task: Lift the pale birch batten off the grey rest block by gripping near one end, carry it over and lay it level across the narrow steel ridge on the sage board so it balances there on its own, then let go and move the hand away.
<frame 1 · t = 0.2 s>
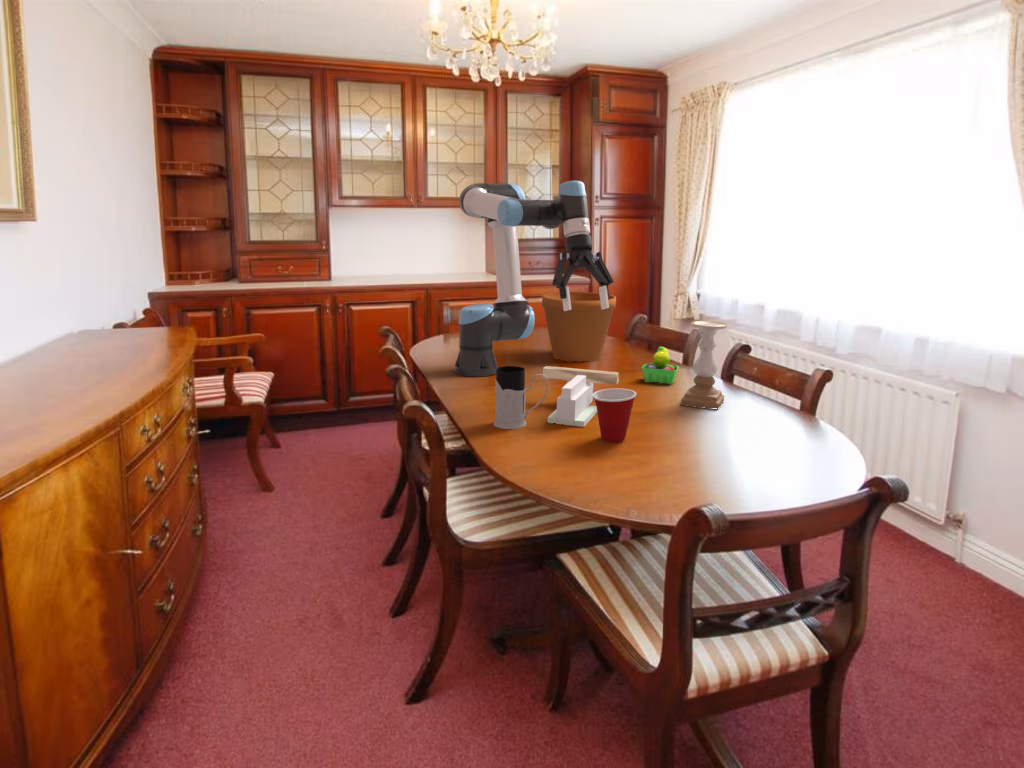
hand: (586, 309, 198), 28 cm above the table, tool tilted 15°, fingers open, 13 cm apart
ridge stand: (573, 416, 191), on the table
plastic cup: (611, 439, 172), on the table
birch batten: (580, 380, 202), point 7 cm above the table, touching rest block
fruit basket: (659, 381, 232), on the table
rest block: (579, 403, 204), on the table
candle holder: (702, 403, 206), on the table
flowerpot: (576, 357, 269), on the table
glass holder: (520, 425, 184), on the table
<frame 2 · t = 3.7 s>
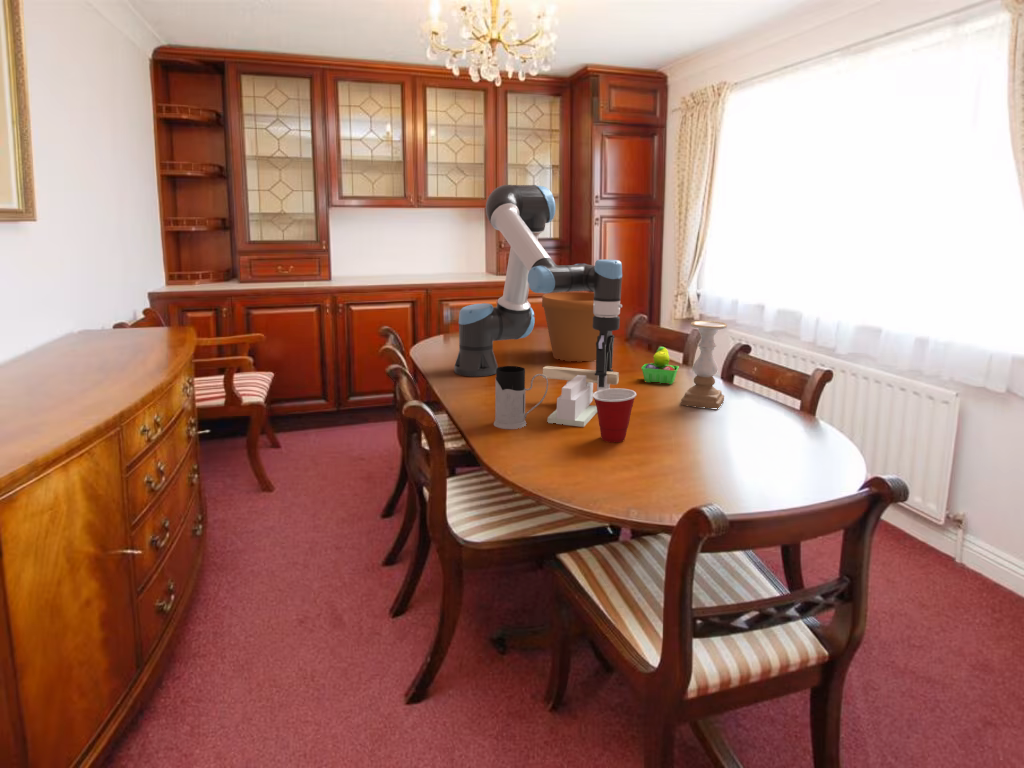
hand: (603, 395, 201), 3 cm above the table, tool pointing down, fingers closed on birch batten, 3 cm apart
birch batten: (580, 380, 202), point 7 cm above the table, touching gripper
everything else where it was.
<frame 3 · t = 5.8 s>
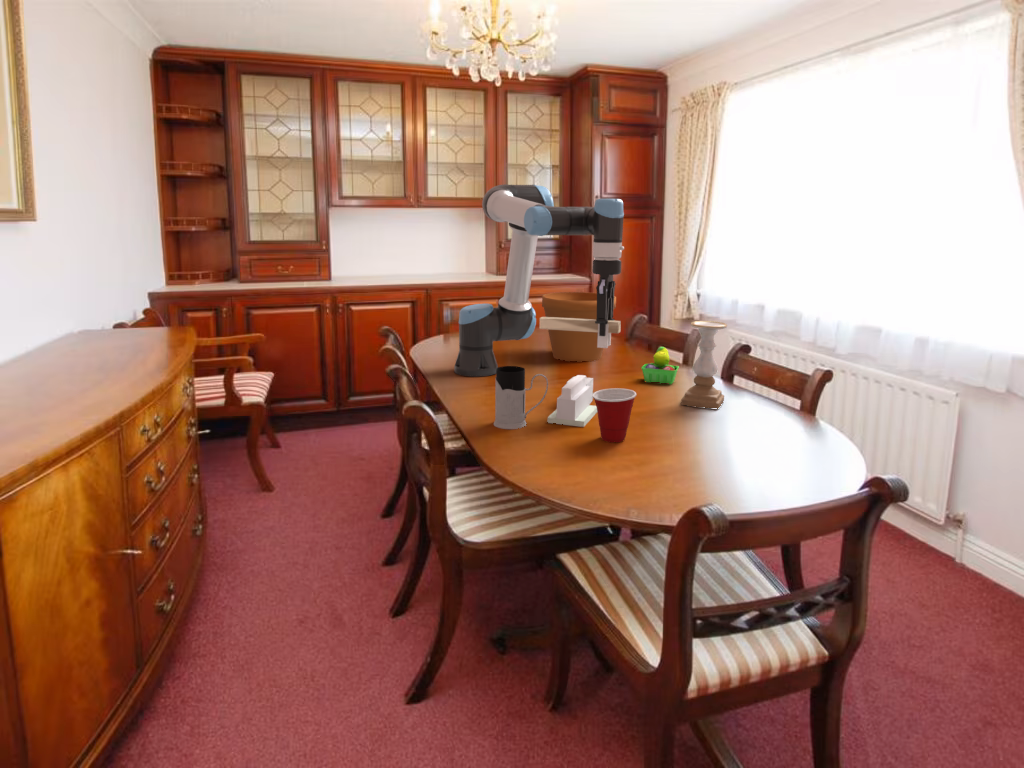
hand: (603, 346, 189), 19 cm above the table, tool pointing down, fingers closed on birch batten, 3 cm apart
birch batten: (579, 330, 190), point 23 cm above the table, touching gripper
everything else where it was.
when the fingers open (7 cm above the table, at t = 8.2 s): birch batten drops 1 cm, resting on ridge stand.
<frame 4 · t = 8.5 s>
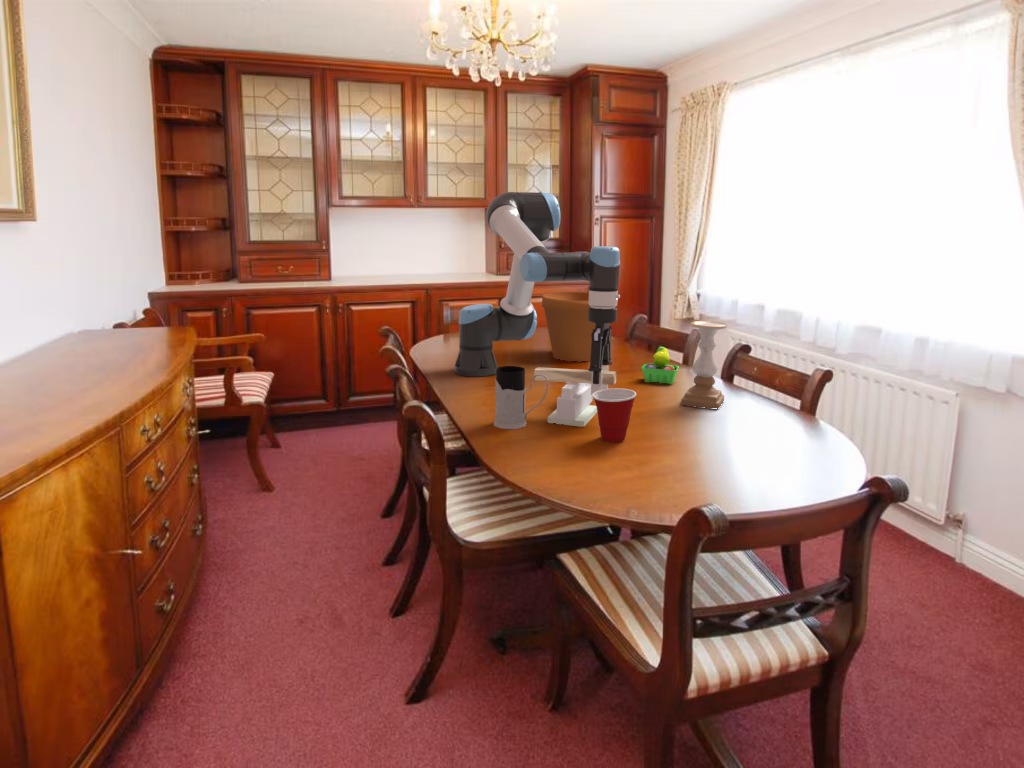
hand: (599, 391, 186), 8 cm above the table, tool pointing down, fingers open, 7 cm apart
birch batten: (574, 381, 188), point 10 cm above the table, touching ridge stand
everything else where it was.
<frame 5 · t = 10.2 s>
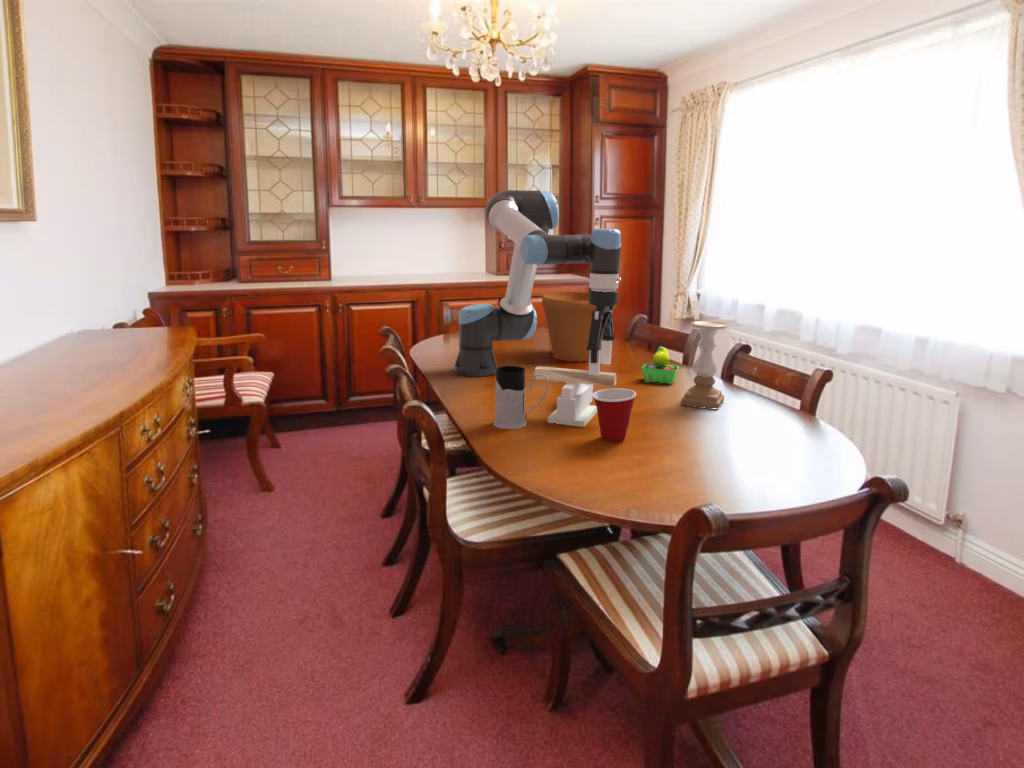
hand: (599, 369, 185), 14 cm above the table, tool pointing down, fingers open, 13 cm apart
nothing on the table moved.
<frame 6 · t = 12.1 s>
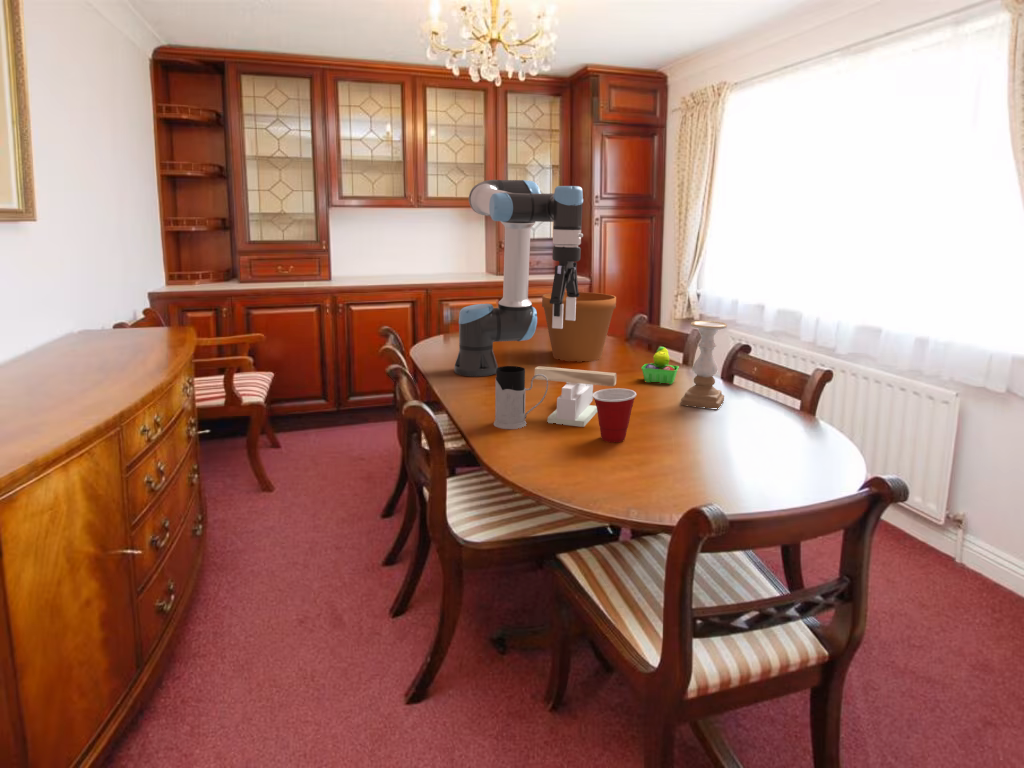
hand: (564, 324, 191), 25 cm above the table, tool pointing down, fingers open, 13 cm apart
nothing on the table moved.
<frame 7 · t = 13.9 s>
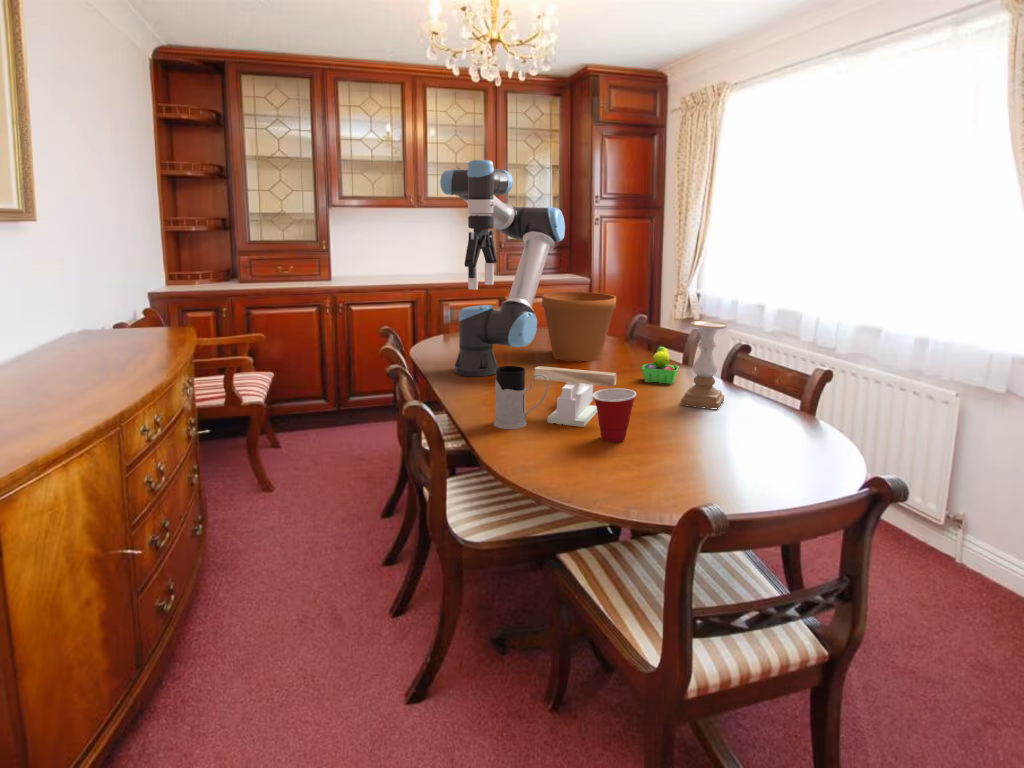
hand: (481, 286, 211), 32 cm above the table, tool pointing down, fingers open, 13 cm apart
nothing on the table moved.
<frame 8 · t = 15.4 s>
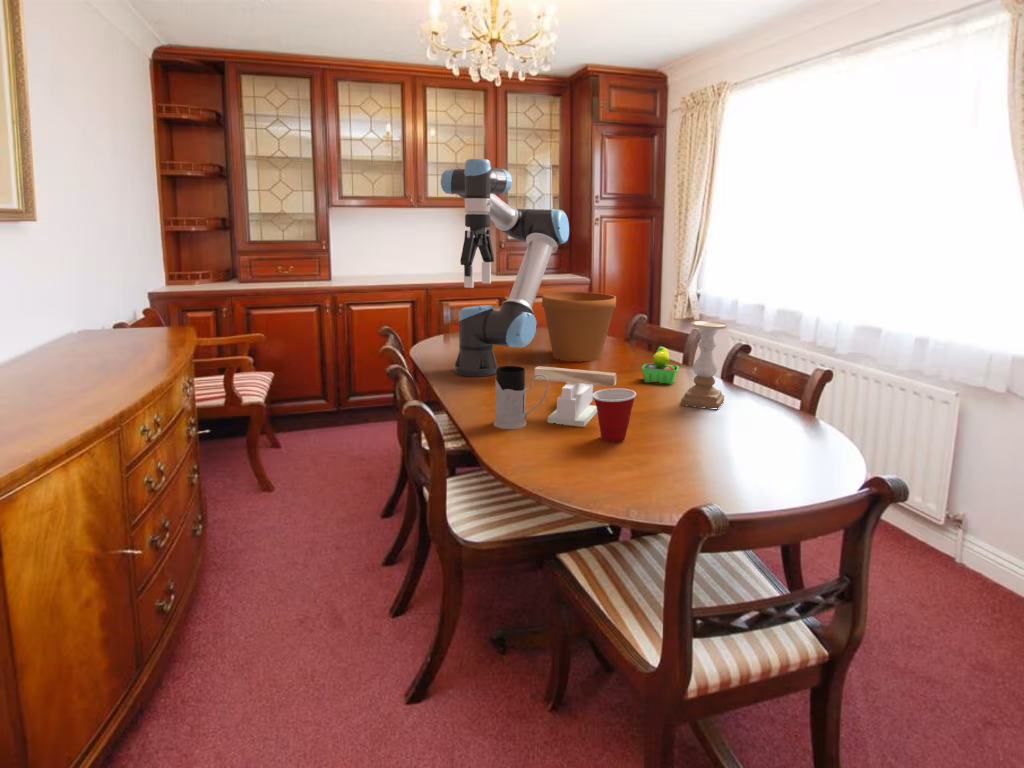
hand: (477, 285, 211), 33 cm above the table, tool pointing down, fingers open, 13 cm apart
nothing on the table moved.
at the end: birch batten 0.1 cm off-centre on the ridge stand, point 10.0 cm above the ridge stand's base; birch batten tilted 0°; the gripper is holding nothing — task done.
